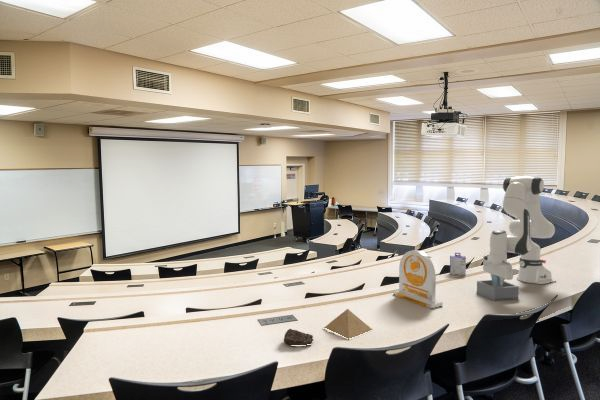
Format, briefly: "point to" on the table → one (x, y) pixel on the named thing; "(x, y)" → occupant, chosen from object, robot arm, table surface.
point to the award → (417, 279)
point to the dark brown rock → (297, 338)
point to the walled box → (497, 290)
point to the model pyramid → (348, 325)
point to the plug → (495, 281)
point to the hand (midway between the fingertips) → (497, 283)
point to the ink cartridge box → (458, 264)
